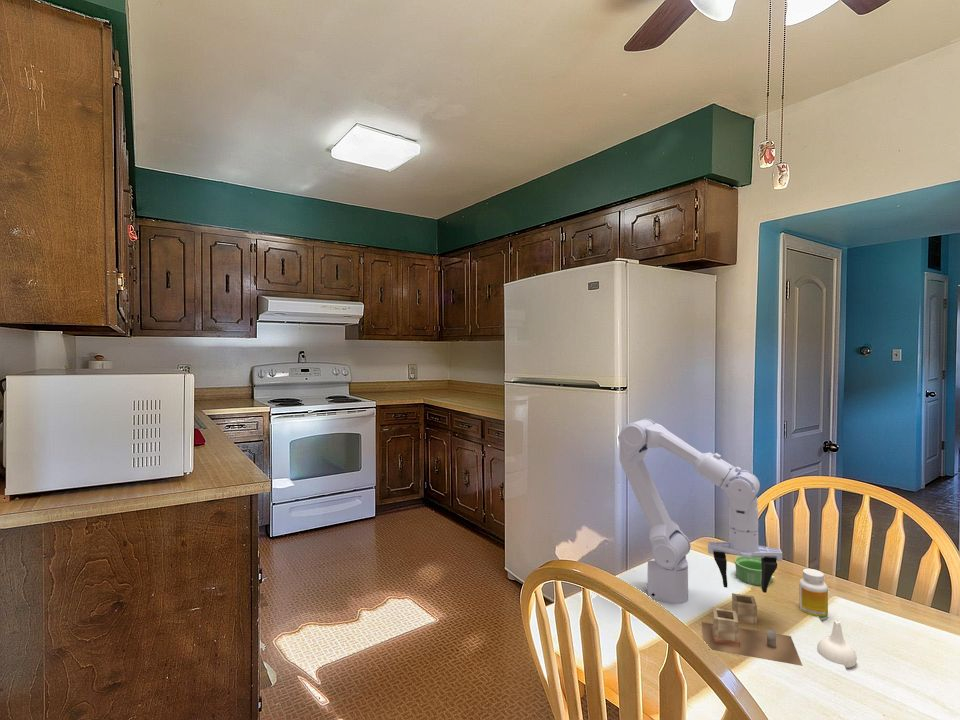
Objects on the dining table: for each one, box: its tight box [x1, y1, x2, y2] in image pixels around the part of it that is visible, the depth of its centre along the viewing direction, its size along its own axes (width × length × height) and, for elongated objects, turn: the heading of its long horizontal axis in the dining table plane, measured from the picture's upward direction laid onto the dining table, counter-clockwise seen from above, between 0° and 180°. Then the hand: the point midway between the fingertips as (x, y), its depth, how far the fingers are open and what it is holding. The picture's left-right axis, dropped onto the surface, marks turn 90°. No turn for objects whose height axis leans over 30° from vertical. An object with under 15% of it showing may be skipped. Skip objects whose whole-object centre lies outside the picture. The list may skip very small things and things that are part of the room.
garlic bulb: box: [816, 619, 858, 669], centre depth 98 cm, size 6×6×8 cm
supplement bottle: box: [798, 568, 829, 621], centre depth 114 cm, size 5×5×10 cm
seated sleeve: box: [711, 607, 740, 647], centre depth 104 cm, size 5×5×5 cm
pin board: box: [701, 621, 803, 666], centre depth 103 cm, size 17×10×4 cm, turn 69°
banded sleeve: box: [731, 592, 759, 626], centre depth 112 cm, size 5×5×5 cm
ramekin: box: [733, 555, 773, 587], centre depth 131 cm, size 9×9×4 cm
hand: (744, 587), depth 111 cm, fingers open, 7 cm apart
